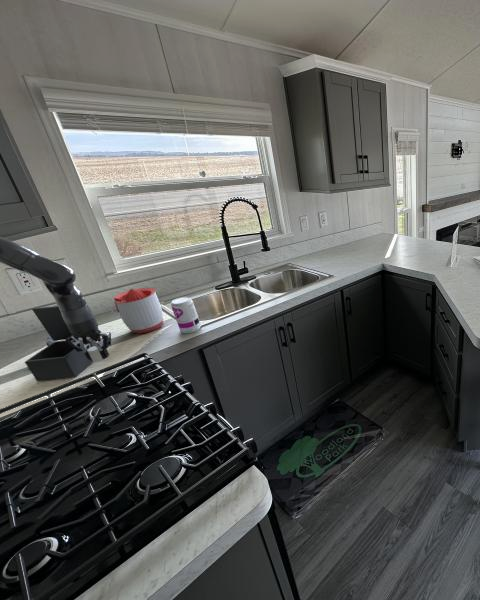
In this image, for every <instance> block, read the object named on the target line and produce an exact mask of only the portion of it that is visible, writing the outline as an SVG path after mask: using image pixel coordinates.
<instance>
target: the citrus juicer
mask: <svg viewBox="0 0 480 600" xmlns="http://www.w3.org/2000/svg"><path fill="white" fill-rule="evenodd" d="M157 295H158V294H157V293H156V289H155V288H152V287H141V288H130V289H129V290H128V291H124V292H122V293H119V294H117V295H115V296H114V297H113V299H114V306H113V307H112V310H111V313H116V312H117V313H118V314H119V317H120V319H121V320H122V322H123V323H124V325H125V326H126V327H127V328H128V329H129V330H130V331H131V332H132V333H134V334H138V335H141V334H145V333H149V332H153V331H156V330H158V329H159V328H160V327H162V325H163V324H164V314H163V309H162V306H161V303H160V300H159V298H158V296H157Z"/></svg>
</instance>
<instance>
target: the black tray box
mask: <svg viewBox="0 0 480 600" xmlns="http://www.w3.org/2000/svg"><path fill="white" fill-rule="evenodd" d="M77 346H78V345H77ZM78 347H79V346H78ZM91 347H93V344H90V348H91ZM93 363H94V362H93V361H92V360H89V359H87V357H86V355H85V353H84V352H82V351H79V352H77V351H76V350H75V349H74V348H73V347H72V346H71V345H70V344H69V343H68V342H67V341H66V340H57V341H53V343H52V344H50V345H49V346H45V348H43V349H41V350H40V351H39V352H37V353H36V354H34V355H32V356H31V357H30V358H28V359H26V360H25V361H24V364H25V365H26V366H27V368H28V370H29V371H30V373H31V374H32V376H33V378H34V379H35V380H36V382H46V381H56V380H65V379H72V378H77V377H78V376H79V375H81V374H82V373H83V372H84V371H85V370H86V369H87V368H88V367H89V366H91V365H92V364H93Z"/></svg>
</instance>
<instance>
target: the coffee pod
mask: <svg viewBox="0 0 480 600" xmlns="http://www.w3.org/2000/svg"><path fill="white" fill-rule="evenodd" d="M87 351H88V353H89V355H90V357H91V359H92V361H93V363H100V362H102V361H105V360H106V359H103V358H102V356H101V354H100V352H99V351H100V350H99V349H98V348H97V347H95V346H93V347H91V348H89V349H88V350H87Z"/></svg>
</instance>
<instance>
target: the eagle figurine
mask: <svg viewBox="0 0 480 600" xmlns="http://www.w3.org/2000/svg"><path fill="white" fill-rule="evenodd" d="M53 342H54V341H53V340H52V338H51V337H50V336H48V337H46V345H47V346H49V345H50V344H52V343H53ZM47 346H46V347H47Z"/></svg>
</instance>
